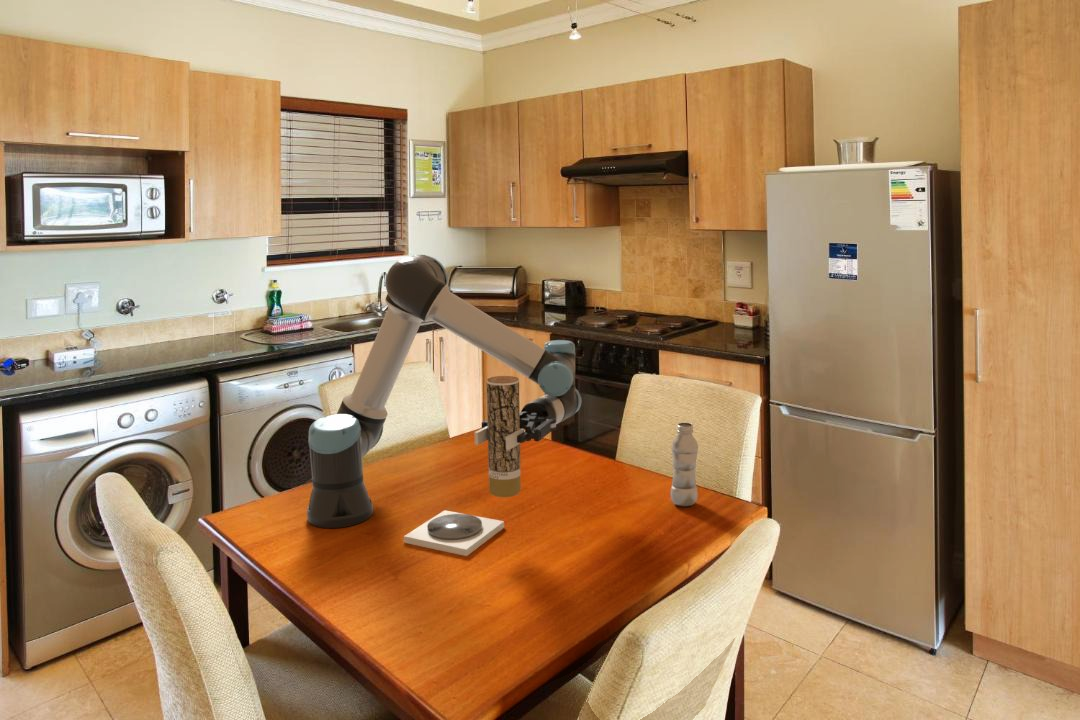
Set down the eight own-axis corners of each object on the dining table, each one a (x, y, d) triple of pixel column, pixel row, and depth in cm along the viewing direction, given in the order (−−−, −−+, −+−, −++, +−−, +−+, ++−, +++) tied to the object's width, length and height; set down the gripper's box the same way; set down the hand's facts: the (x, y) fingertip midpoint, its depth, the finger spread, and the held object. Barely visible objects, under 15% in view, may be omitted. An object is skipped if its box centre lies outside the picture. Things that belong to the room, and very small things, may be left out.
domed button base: (404, 542, 166) (403, 531, 166) (445, 516, 180) (444, 506, 180) (466, 556, 159) (466, 545, 158) (504, 527, 173) (503, 517, 172)
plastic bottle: (700, 501, 186) (702, 422, 182) (693, 511, 180) (695, 429, 176) (674, 497, 189) (675, 419, 185) (666, 507, 183) (668, 426, 179)
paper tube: (516, 499, 160) (514, 383, 155) (485, 497, 162) (482, 382, 157) (523, 488, 167) (522, 376, 162) (493, 486, 168) (491, 375, 163)
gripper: (580, 435, 174) (534, 465, 154) (505, 424, 182) (452, 452, 162) (580, 403, 172) (533, 429, 152) (504, 394, 181) (450, 418, 161)
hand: (491, 440), depth 157 cm, fingers closed on paper tube, 7 cm apart
